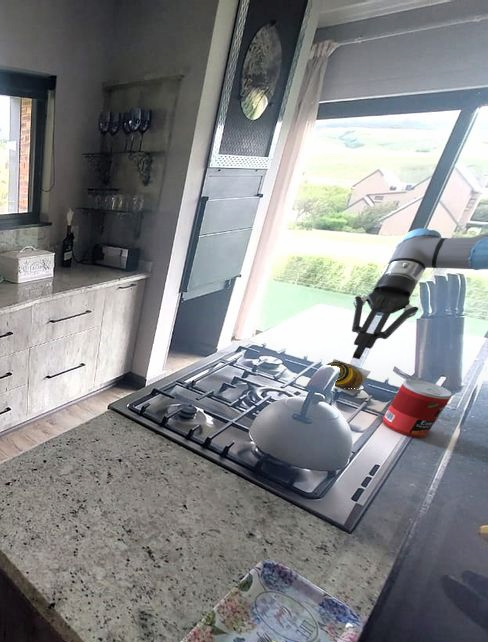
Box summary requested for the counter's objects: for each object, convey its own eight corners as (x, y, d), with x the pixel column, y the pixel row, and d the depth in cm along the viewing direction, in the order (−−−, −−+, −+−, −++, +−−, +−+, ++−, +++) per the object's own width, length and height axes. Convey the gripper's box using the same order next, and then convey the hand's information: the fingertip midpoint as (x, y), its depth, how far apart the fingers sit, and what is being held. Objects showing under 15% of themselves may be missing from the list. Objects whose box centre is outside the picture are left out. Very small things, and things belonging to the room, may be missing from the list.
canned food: (415, 441, 90) (442, 399, 85) (373, 422, 97) (396, 382, 91) (433, 433, 93) (460, 392, 88) (391, 415, 99) (414, 376, 94)
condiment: (354, 395, 108) (341, 389, 101) (319, 382, 114) (304, 374, 107) (371, 371, 106) (359, 363, 99) (334, 359, 113) (320, 350, 106)
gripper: (368, 269, 109) (328, 341, 106) (435, 279, 100) (393, 358, 98) (363, 285, 114) (324, 354, 112) (426, 296, 106) (386, 371, 104)
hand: (356, 356), depth 105 cm, fingers closed
